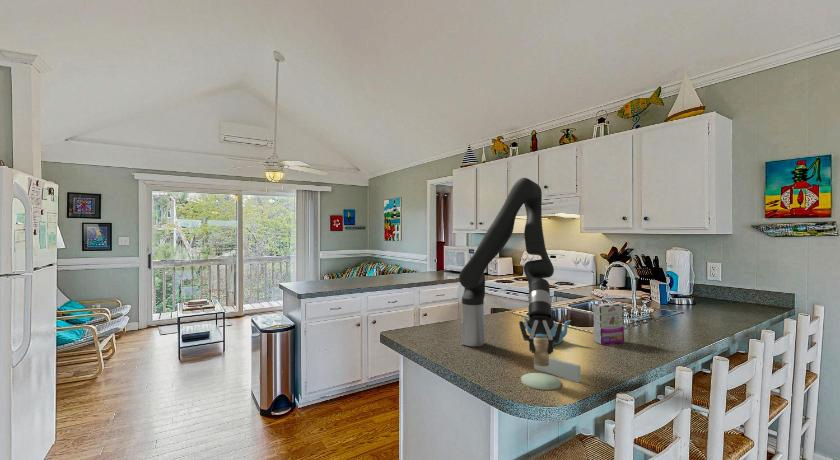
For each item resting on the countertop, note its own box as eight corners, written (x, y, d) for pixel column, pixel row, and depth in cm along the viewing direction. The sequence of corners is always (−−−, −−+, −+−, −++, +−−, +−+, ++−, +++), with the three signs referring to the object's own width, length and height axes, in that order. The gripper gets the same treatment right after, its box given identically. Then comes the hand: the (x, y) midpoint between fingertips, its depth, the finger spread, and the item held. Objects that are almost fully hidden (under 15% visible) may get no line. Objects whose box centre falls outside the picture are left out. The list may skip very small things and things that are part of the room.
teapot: (545, 348, 151) (544, 323, 151) (520, 339, 165) (520, 315, 165) (572, 344, 157) (571, 319, 157) (546, 335, 171) (546, 312, 171)
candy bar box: (616, 339, 162) (615, 302, 162) (624, 343, 157) (623, 304, 157) (593, 341, 159) (592, 303, 159) (601, 345, 154) (600, 305, 154)
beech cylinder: (534, 365, 116) (533, 340, 116) (534, 360, 120) (533, 336, 121) (549, 366, 115) (548, 340, 115) (548, 362, 119) (548, 336, 119)
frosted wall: (534, 368, 129) (533, 354, 129) (536, 367, 130) (536, 353, 130) (578, 382, 117) (578, 366, 117) (580, 381, 118) (580, 365, 118)
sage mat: (520, 387, 114) (520, 385, 114) (521, 373, 125) (521, 371, 125) (562, 392, 110) (562, 389, 110) (559, 376, 122) (559, 375, 122)
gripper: (517, 299, 127) (517, 345, 116) (562, 300, 123) (566, 348, 112) (518, 311, 132) (518, 356, 121) (561, 313, 128) (565, 360, 117)
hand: (541, 352), depth 116 cm, fingers closed on beech cylinder, 4 cm apart
